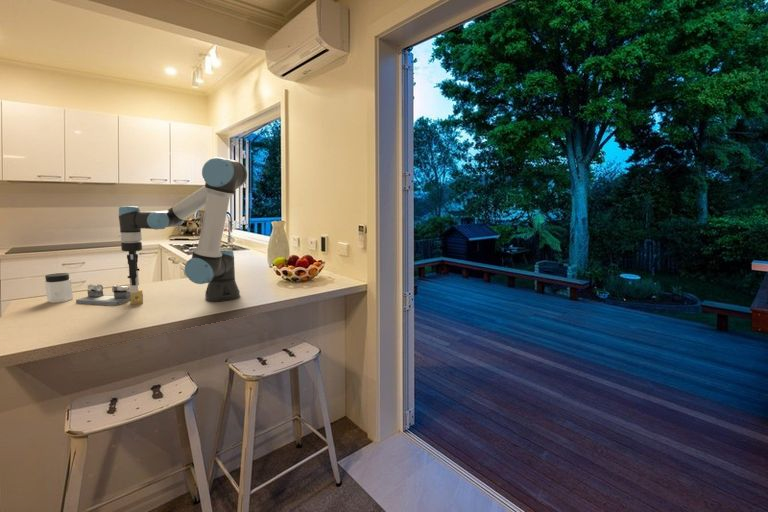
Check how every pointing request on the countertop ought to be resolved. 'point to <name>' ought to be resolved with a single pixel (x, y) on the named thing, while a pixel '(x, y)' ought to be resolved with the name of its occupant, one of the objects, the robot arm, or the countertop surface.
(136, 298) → the coupler
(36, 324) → the countertop surface
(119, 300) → the board
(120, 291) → the grey metal block
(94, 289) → the shaft
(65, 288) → the jar
